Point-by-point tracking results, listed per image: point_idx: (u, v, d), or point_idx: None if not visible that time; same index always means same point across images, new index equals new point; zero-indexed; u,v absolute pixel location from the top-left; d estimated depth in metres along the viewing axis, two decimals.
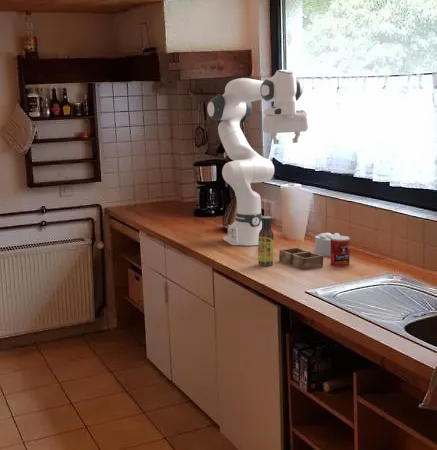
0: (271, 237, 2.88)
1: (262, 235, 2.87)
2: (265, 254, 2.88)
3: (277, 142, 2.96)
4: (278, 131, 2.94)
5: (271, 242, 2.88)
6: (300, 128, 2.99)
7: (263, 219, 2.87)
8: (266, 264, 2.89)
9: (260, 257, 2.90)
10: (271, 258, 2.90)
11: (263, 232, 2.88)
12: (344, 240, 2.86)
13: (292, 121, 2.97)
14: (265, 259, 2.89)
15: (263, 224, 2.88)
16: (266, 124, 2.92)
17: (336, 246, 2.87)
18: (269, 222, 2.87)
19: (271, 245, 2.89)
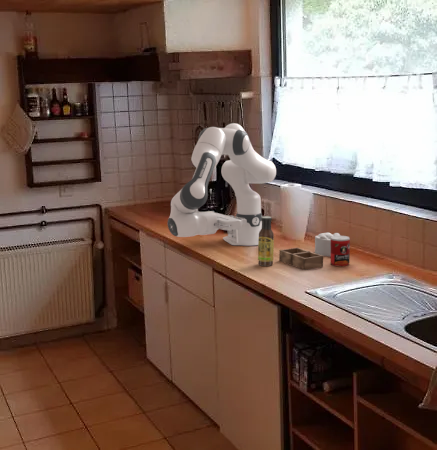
0: (271, 237, 2.88)
1: (262, 235, 2.87)
2: (265, 254, 2.88)
3: None
4: None
5: (271, 242, 2.88)
6: None
7: (263, 219, 2.87)
8: (266, 264, 2.89)
9: (260, 257, 2.90)
10: (271, 258, 2.90)
11: (263, 232, 2.88)
12: (344, 240, 2.86)
13: None
14: (265, 259, 2.89)
15: (263, 224, 2.88)
16: None
17: (336, 246, 2.87)
18: (269, 222, 2.87)
19: (271, 245, 2.89)
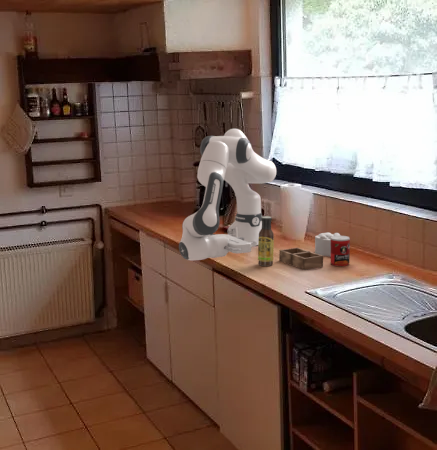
0: (271, 237, 2.88)
1: (262, 235, 2.87)
2: (265, 254, 2.88)
3: None
4: None
5: (271, 242, 2.88)
6: None
7: (263, 219, 2.87)
8: (266, 264, 2.89)
9: (260, 257, 2.90)
10: (271, 258, 2.90)
11: (263, 232, 2.88)
12: (344, 240, 2.86)
13: None
14: (265, 259, 2.89)
15: (263, 224, 2.88)
16: None
17: (336, 246, 2.87)
18: (269, 222, 2.87)
19: (271, 245, 2.89)
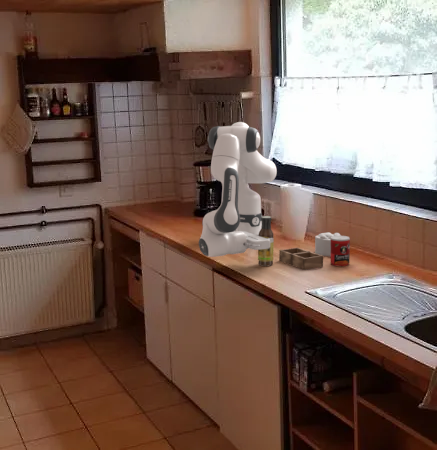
0: (271, 237, 2.88)
1: (262, 235, 2.88)
2: (265, 254, 2.88)
3: None
4: None
5: None
6: None
7: (263, 219, 2.87)
8: (266, 264, 2.89)
9: (260, 257, 2.90)
10: (271, 258, 2.90)
11: (263, 231, 2.88)
12: (344, 240, 2.86)
13: None
14: (265, 259, 2.89)
15: (263, 224, 2.88)
16: None
17: (336, 246, 2.87)
18: (269, 222, 2.88)
19: (271, 245, 2.89)
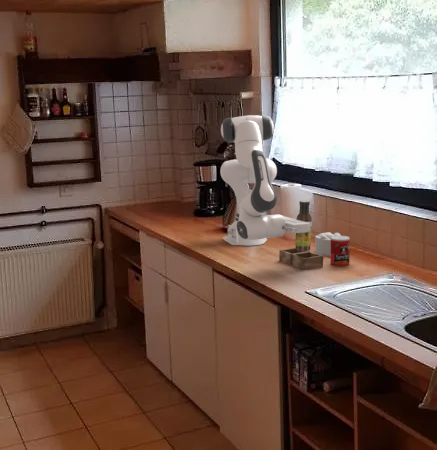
0: None
1: (300, 219, 2.83)
2: (303, 239, 2.84)
3: None
4: None
5: None
6: None
7: (301, 203, 2.82)
8: (304, 249, 2.85)
9: (298, 242, 2.85)
10: (309, 243, 2.85)
11: (301, 216, 2.83)
12: (344, 240, 2.86)
13: None
14: (303, 243, 2.84)
15: (301, 208, 2.83)
16: None
17: (336, 246, 2.87)
18: (307, 206, 2.83)
19: None
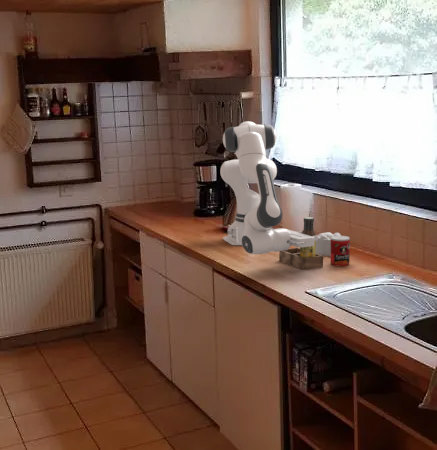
0: None
1: None
2: (307, 255, 2.85)
3: None
4: None
5: None
6: None
7: (305, 220, 2.84)
8: None
9: None
10: None
11: (305, 232, 2.84)
12: (344, 240, 2.86)
13: None
14: None
15: (305, 225, 2.84)
16: None
17: (336, 246, 2.87)
18: (311, 223, 2.84)
19: (313, 246, 2.85)
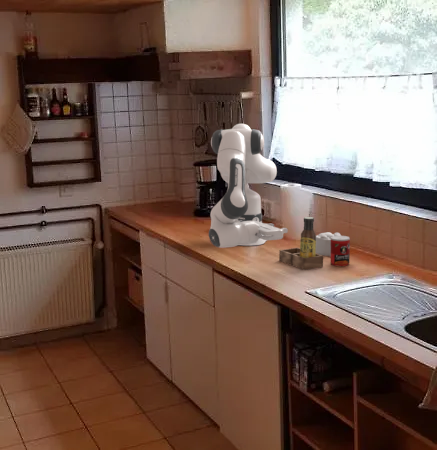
0: (313, 238, 2.84)
1: (305, 236, 2.84)
2: (307, 255, 2.85)
3: None
4: None
5: (313, 243, 2.85)
6: None
7: (305, 220, 2.84)
8: None
9: None
10: None
11: (305, 232, 2.84)
12: (344, 240, 2.86)
13: None
14: None
15: (305, 225, 2.84)
16: None
17: (336, 246, 2.87)
18: (311, 223, 2.84)
19: (313, 246, 2.85)
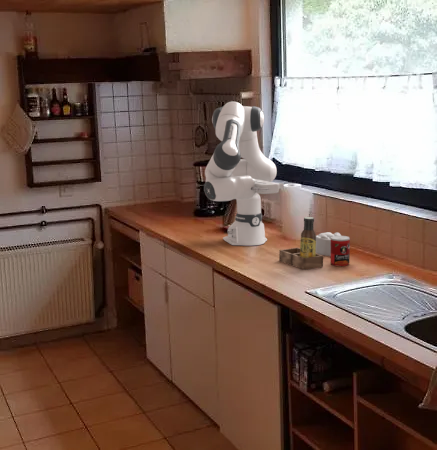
0: (313, 238, 2.84)
1: (305, 236, 2.84)
2: (307, 255, 2.85)
3: None
4: None
5: (313, 243, 2.85)
6: None
7: (306, 220, 2.84)
8: None
9: None
10: None
11: (306, 232, 2.84)
12: (344, 240, 2.86)
13: None
14: None
15: (305, 225, 2.84)
16: None
17: (336, 246, 2.87)
18: (312, 223, 2.84)
19: (313, 246, 2.85)
